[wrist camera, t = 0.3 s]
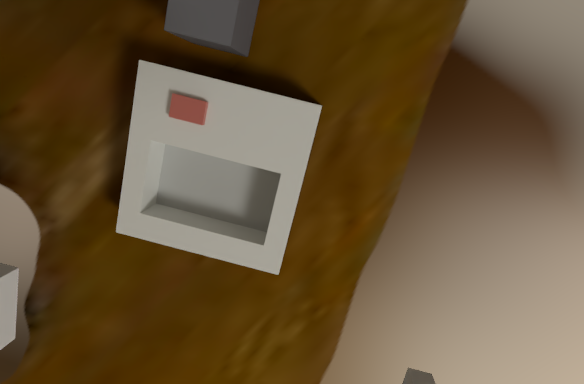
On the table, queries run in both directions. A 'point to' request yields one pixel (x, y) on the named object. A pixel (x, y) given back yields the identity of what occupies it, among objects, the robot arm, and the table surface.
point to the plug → (214, 23)
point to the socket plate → (214, 166)
